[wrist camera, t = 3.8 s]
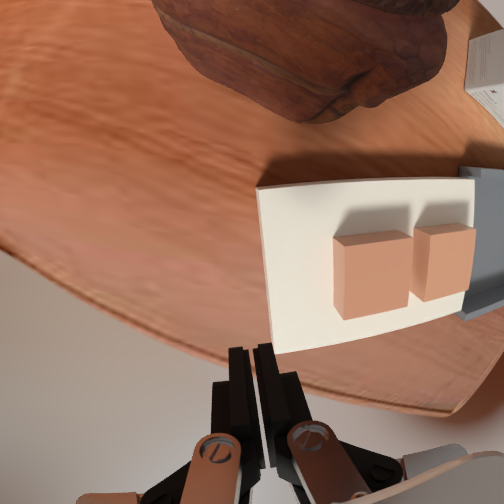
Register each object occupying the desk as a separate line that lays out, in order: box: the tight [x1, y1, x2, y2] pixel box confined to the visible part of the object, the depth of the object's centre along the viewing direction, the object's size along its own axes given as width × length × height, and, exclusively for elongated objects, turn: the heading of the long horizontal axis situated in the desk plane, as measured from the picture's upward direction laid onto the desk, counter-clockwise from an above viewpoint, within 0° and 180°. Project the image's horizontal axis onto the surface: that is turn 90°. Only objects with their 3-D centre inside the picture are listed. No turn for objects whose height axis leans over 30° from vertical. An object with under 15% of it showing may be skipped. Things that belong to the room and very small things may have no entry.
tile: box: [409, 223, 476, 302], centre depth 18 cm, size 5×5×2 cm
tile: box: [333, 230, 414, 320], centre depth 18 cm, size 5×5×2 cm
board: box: [256, 177, 475, 354], centre depth 20 cm, size 18×12×2 cm, turn 96°
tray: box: [455, 166, 504, 321], centre depth 20 cm, size 13×14×3 cm
